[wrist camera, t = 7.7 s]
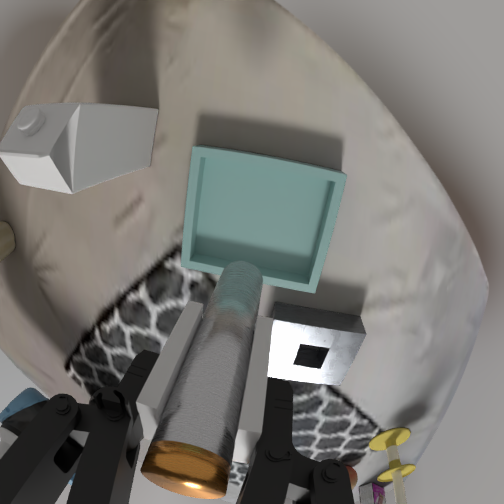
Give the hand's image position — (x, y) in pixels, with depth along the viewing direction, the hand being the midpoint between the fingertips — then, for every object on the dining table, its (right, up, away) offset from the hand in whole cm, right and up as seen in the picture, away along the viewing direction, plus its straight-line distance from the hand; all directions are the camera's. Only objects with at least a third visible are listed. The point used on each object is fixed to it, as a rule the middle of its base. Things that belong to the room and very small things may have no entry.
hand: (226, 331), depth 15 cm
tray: (+2, +8, +19) cm, 21 cm away
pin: (+1, +2, +5) cm, 6 cm away
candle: (+32, -38, +36) cm, 61 cm away
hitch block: (+9, -8, +25) cm, 28 cm away
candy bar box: (+39, -70, +48) cm, 94 cm away
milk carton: (-14, +18, +17) cm, 28 cm away
